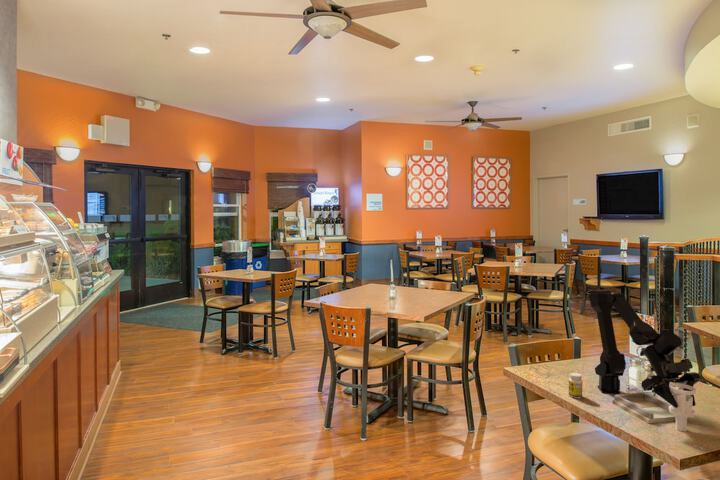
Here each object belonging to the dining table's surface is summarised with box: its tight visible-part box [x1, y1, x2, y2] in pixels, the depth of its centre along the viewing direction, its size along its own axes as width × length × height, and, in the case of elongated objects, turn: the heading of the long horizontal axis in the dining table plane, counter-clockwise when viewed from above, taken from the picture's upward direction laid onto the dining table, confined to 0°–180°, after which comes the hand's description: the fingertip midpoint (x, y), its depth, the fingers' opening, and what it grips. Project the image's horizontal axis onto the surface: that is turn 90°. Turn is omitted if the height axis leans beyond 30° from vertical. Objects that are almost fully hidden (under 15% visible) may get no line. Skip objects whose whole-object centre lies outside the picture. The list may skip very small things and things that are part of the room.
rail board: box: [611, 391, 676, 424], centre depth 173 cm, size 17×14×3 cm
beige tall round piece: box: [669, 382, 697, 432], centre depth 158 cm, size 7×7×15 cm
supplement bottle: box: [568, 372, 583, 399], centre depth 186 cm, size 5×5×8 cm
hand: (685, 406), depth 157 cm, fingers closed on beige tall round piece, 6 cm apart
